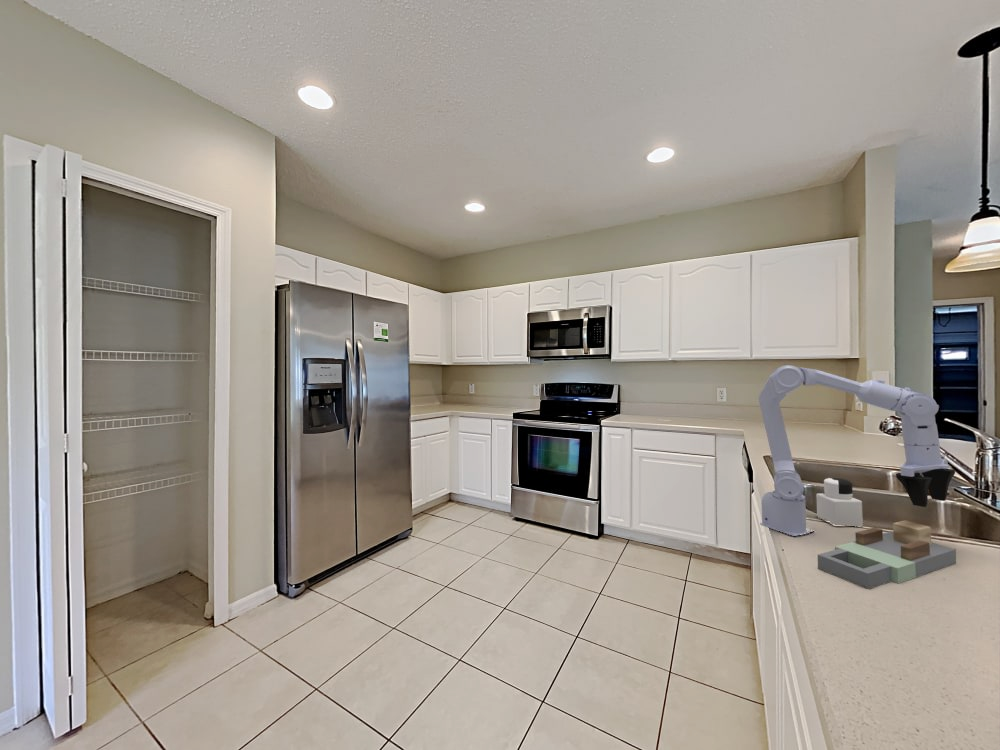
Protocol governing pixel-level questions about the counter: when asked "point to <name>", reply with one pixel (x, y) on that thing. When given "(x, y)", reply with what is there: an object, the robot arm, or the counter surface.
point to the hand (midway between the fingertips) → (929, 502)
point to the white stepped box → (839, 503)
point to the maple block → (911, 532)
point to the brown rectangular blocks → (907, 551)
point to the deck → (882, 562)
